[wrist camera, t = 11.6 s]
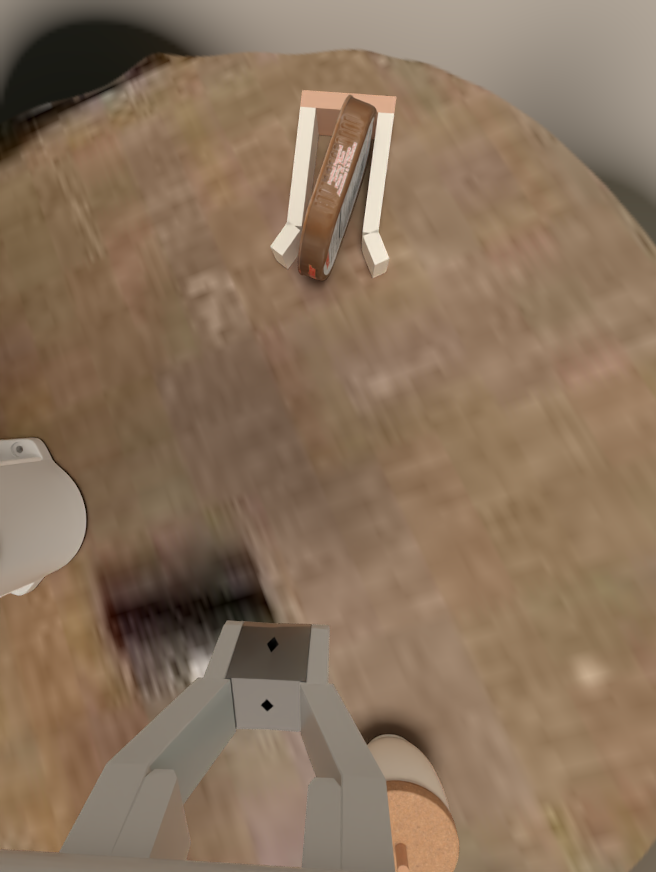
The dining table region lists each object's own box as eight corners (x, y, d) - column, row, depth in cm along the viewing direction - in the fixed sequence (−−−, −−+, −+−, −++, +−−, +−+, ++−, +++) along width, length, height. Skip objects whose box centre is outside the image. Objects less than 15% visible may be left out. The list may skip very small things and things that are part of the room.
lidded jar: (457, 763, 37) (493, 879, 28) (389, 819, 38) (402, 949, 29) (391, 696, 37) (404, 789, 28) (325, 753, 38) (316, 862, 29)
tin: (348, 147, 34) (348, 60, 26) (377, 157, 34) (386, 72, 26) (301, 287, 35) (286, 247, 27) (328, 296, 35) (321, 259, 27)
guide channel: (276, 268, 35) (269, 254, 32) (293, 117, 34) (287, 89, 31) (384, 279, 35) (388, 266, 32) (405, 126, 34) (411, 97, 31)
